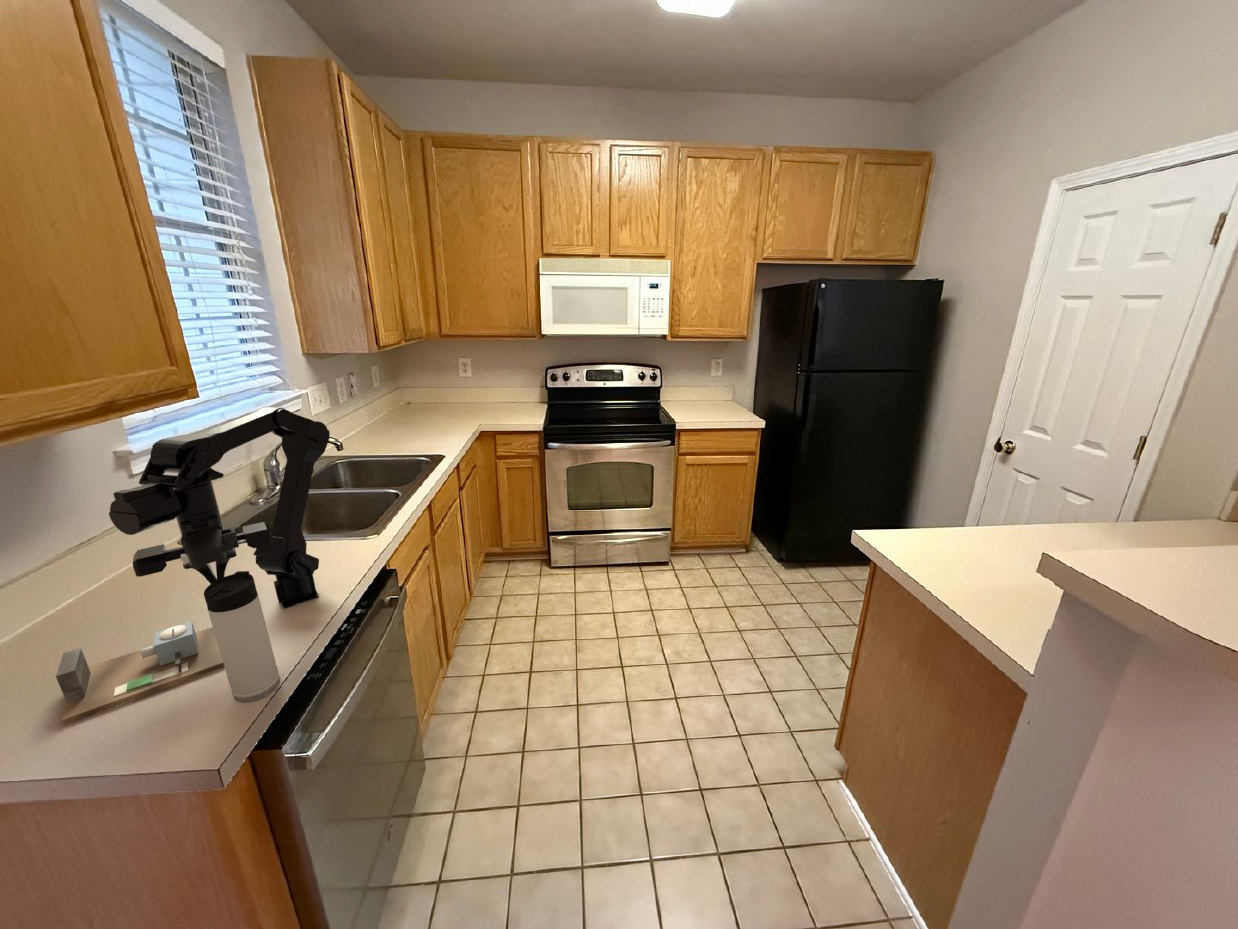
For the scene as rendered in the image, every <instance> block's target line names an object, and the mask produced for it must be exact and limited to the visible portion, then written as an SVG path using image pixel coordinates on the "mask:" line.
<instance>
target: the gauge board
mask: <svg viewBox="0 0 1238 929" xmlns="http://www.w3.org/2000/svg"><path fill="white" fill-rule="evenodd" d="M195 633H196V636H197V639H198V653H197V654H194V655H191V656H188V657H185V658H182V659H181V665H180V666H177V667H176V665H175V661H173V662H170V663H168V664H165V665H162V666H161V665H160V662H159V659H158V656H157V654H155V655H152V656H149V657H146V658H142V655H141V649H140V650H136V651H133V652H130V653H126V654H124V655H120V656H118V657H114V658H112V659H109V660H108V659H107V660H105V661H102V662H99V663H96V664H92V665H90V666H89V665H88V662H87V660H86V657H85V655H84V652H83V650H82V648H81V647H80V648H77V649H73V650H69V651H67V652H64V653H62V656H61V659H60V662H59V665H58V669H57V671H56V674H55V678H56V681H57V682H58V685H59V687H60V689H61V693H62V694H63V697H64V699H65V701H66V704H65V708H64V712H63V715H62V719H61V721H62V723H63V726H66V725H68V724H71V723H75V722H77V721H79V720H80V721H81V720H82V719H85V718H89V717H91V716H94V715H96V713H97V714H99V713H98V712H100V711H102V712H105V711H107V709H108V710H110V709H109V708H111V709H113V708H116V707H118V706H117V705H119V706H121V704H122V705H124V704H126V702H127V703H130V702H132V701H131V700H133V701H135V700H134V699H136V700H138V699H140V698H144V697H146V696H149V695H151V693H152V694H154V693H157V692H160V691H163V690H167V689H168V688H167V687H169V688H171V687H174V686H177V685H179V684H182V683H185V682H187V681H190V680H193V679H196V678H198V677H201V676H204V675H207V674H210V673H213V672H216V671H218V670H220V669H221V670H222V669H223V668H224V669H225V667H224V663H223V660H222V657H221V653H220V650H219V646H218V643H217V640H216V636H215V633H214V630H213V626H211V627H209V628H205V629H202V630H199V631H195ZM162 689H163V690H162ZM148 694H149V695H148ZM143 696H144V697H143ZM129 701H130V702H129ZM123 703H124V704H123ZM115 706H116V707H115ZM112 707H113V708H112ZM100 713H101V712H100ZM93 714H94V715H93Z"/></svg>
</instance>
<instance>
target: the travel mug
mask: <svg viewBox="0 0 1238 929" xmlns="http://www.w3.org/2000/svg"><path fill="white" fill-rule="evenodd" d="M203 597H204V600H205V603H206V606H207V608H206V609H207V612H208V616H209V620H210V622H211V627H213V630H214V633H215V636H216V640H217V643H218V646H219V650H220V653H221V657H222V660H223V663H224V670H225V673H226V676H227V680H228V684H229V687H230V691H231V694H232V697H233V699H234V700H235V701H236V702H238V703H241V704H242V703H243V704H247V703H251V702H257V701H259V700H262V699H264V698H265V697H267V696H269V695H271V694H272V693H273V692H274V691H275V690H276V689H277V688H278V687H279V685H280V683H281V678H280V674H279V671H278V667H277V666H278V665H277V664H276V659H275V656H274V651H273V648H272V644H271V639H270V635H269V631H268V628H267V625H266V620H265V616H264V612H263V608H262V605H261V601H260V597H259V593H258V591H257V586H256V583H255V578H254V576H253V575H252V574H251V573H250V571H249V570H238V571H236V572H234V573H233V574H229V575H227V576H226V575H225V576H224V577H223V578H221V579H219V580H217V581H215V582H213V583H212V584H210V583H209V585H208V586H207V587H205V589H204V591H203Z"/></svg>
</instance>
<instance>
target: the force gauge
mask: <svg viewBox="0 0 1238 929" xmlns="http://www.w3.org/2000/svg"><path fill="white" fill-rule="evenodd" d="M153 641H154V642H153V645H150V646H147V647H145V648H141V649H140V650H141V655H142V658H146V657H149V656H152V655H155V654H157V656H158V659H159V662H160V665H161V666H162V665H165V664H168V663H170V662H173V661H175V665H176V667H177V666H180V665H181V659H182V658H185V657H188V656H191V655H194V654H197V653H198V639H197V636H196V630H195V626H194V623H193V620H191V621H187V622H184V623H180V624H178V625H174V626H171V627H168V628H164V629H160V630H158V631H154V640H153Z"/></svg>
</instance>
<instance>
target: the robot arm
mask: <svg viewBox="0 0 1238 929" xmlns="http://www.w3.org/2000/svg"><path fill="white" fill-rule="evenodd" d="M330 432H331V431H330V430H329V429H328V427H327V425H326V424H325V423H323V422H322V421H319V420H318V421H315V420H313V419H310V418H307V417H304V416H301V415H299V414H296V413H293V412H292V411H289V410H288V409H285V408H284V407H274V406H273V407H272V406H264V407H262V408H260V409H258V410H257V411H254V412H252V413H249V414H247V415H244V416H242V417H240V418H236V419H235V420H232V421H230V422H227V423H224V424H222V425H218V426H216V427H214V428H212V429H209V430H207V431H202V432H197V433H195V432H194V433H188V434H187V433H186V434H179V435H176V436H170V437H166V438H161V439H159V440H157V441H156V442H155V443H153V444H152V449H151V450H150V456H149V460H148V462H146V466H145V468H144V470H143V472H142V474H141V476H140V478H139V481H138V485H139V486H136V487H133V488H129V489H121V490H119V491H115V492H113V493H112V494H113V497H114V500H113V501H112V502H111V503H110V506H109V512H108V515H109V519H110V520H111V522H112V524H113V525H114V526H115V527H116V529H118V530H119V531H120V532H121V533H123V534H125V535H128V536H133V535H137V534H139V533H142V532H144V531H148V530H149V529H153V528H155V527H157V526H160V525H163V524H166V523H169V522H171V521H174V520H175V519H176V521H177V525H178V529H179V532H180V535H181V537H180V542H181V545H182V546H179V547H174V548H170V549H167V547H166V545H165V544H160V545H159V544H158V545H154V546H150V547H144V548H141V549H137V550H136V551H135V553H134V554H133V558H132V567H133V571H134V574H135V577H139V578H141V577H144V576H150V575H152V574H157V573H162V572H163V571H164V569H165V568H167V566H168V564H167V562H172V561H175V560H180V561H182V566H183V569H184V570H189V569H193V570H195V571H196V572H198V573H199V574H201V575H202V576H203V577H204V578H205V580H207V581H208V582H209V585H210V584H212V583H213V582H215V581H217V580H219V579H221V578H223V577H225V573H226V569H227V566H228V563H229V561H230V559H232V558H235V557H236V556H237V551H236V548H239V547H240V545H242V544H247V547H249V548H251V549H255V551H254V553H253V556H255V564H256V565H257V566H258V567H259V569H261V570H262V571H264V572H265V574H266V575H269V576H272V575H273V576H275V580H274V581H273V586H274V590H275V594H276V598H277V601H278V603H279V604H281V605H282V607H283V609H286V608H291V607H294V606H296V605H299V604H303V603H306V602H308V601H312V600H315V599H318V598H320V595H319V593H318V591H317V588H316V583H315V579H314V573H315V571H318V569H319V566H320V565H319V564H320V559H319V558H318V557H315V556H313V555H310V554H308V553H307V545H308V543H307V541H306V539H305V536H304V534H303V531H302V526H303V521H304V516H305V511H306V506H307V502H308V497H309V493H310V486H311V481H312V476H313V471H314V467H315V463H316V462H317V461H318V460H319V459H320V458H321V457H322V456H323V455H324V453H325V451H326V448H327V446H328V443H329V440H330V436H331V435H330ZM269 433H272V434H273V435H275V436H277V437H279V438H281V448H282V451H283V452H284V456H285V458H286V463H285V467H284V473H283V477H282V482H281V486H280V487H281V488H280V492H279V496H278V497H279V498H278V501H277V507H276V511H275V516H274V521H273V527H272V528H271V527H270V524H269V523H267V522H266V521H261V522H257V523H253V524H248V525H244V526H242V530H243V531H242V532H240V533H239V532H238V533H236V530H235V527H230V528H224V523H223V520H222V516H221V512H220V508H219V505H218V504H219V503H218V500H217V497H216V494H215V489H214V486H213V483H212V481H215V480H216V481H217V480H218V479H221V478H223V477H224V476H225V474H224V473H222V472H219V471H217V470H214V469H213V468H212V467H213V466H215V465H216V464H218V463H219V462H220V461H221V460H222V458H223V457H224V456H225V454H227V453H229V451H232V450H234V449H236V448H239V447H241V446H242V445H245V444H247V443H249V442H252V441H254V440H256V439H258V438H260V437H263V436H265V435H268V434H269ZM166 473H173V474H177V475H171V474H166ZM212 563H215V572H214V570H213V567H212V565H211V564H212Z"/></svg>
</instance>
